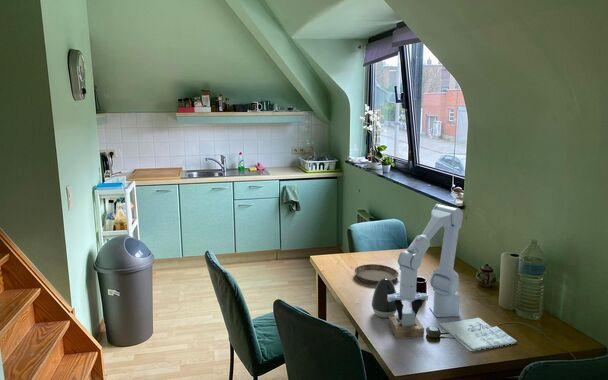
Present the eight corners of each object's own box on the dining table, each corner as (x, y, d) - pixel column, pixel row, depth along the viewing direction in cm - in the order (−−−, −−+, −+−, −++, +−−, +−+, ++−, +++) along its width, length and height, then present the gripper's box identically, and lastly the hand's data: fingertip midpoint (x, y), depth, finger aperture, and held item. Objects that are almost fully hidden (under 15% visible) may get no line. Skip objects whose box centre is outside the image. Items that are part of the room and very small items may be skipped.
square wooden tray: (414, 323, 174) (415, 315, 173) (423, 337, 164) (424, 328, 163) (389, 324, 173) (389, 316, 172) (396, 338, 163) (396, 329, 162)
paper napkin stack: (470, 354, 155) (471, 348, 154) (437, 325, 174) (438, 320, 173) (517, 345, 160) (518, 339, 159) (480, 318, 179) (480, 313, 178)
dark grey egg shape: (378, 322, 174) (379, 285, 171) (367, 310, 184) (368, 275, 181) (402, 319, 177) (404, 282, 174) (390, 307, 187) (391, 272, 184)
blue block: (410, 319, 170) (411, 307, 169) (414, 325, 166) (415, 313, 165) (398, 320, 169) (399, 308, 168) (402, 326, 165) (403, 313, 164)
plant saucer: (396, 270, 226) (396, 264, 226) (400, 288, 206) (400, 281, 206) (354, 269, 228) (354, 263, 228) (354, 286, 208) (354, 279, 208)
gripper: (391, 289, 160) (390, 324, 163) (431, 287, 161) (429, 322, 164) (386, 281, 167) (385, 315, 170) (425, 279, 168) (423, 313, 171)
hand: (406, 318), depth 167 cm, fingers closed on blue block, 4 cm apart
